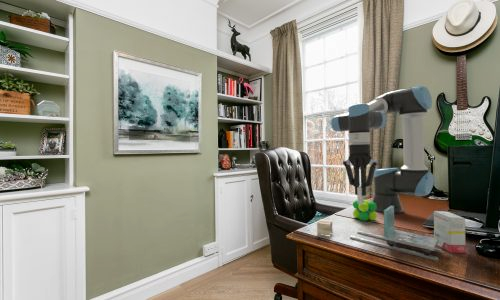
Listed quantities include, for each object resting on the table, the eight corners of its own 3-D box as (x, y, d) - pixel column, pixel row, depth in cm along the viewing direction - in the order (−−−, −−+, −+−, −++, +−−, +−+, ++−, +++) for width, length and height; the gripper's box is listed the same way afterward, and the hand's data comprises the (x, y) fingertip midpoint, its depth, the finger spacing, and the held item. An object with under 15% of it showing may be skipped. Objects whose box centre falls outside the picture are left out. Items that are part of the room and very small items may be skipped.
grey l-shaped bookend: (391, 237, 90) (391, 205, 90) (438, 247, 80) (438, 212, 80) (383, 245, 83) (383, 210, 83) (434, 258, 73) (433, 218, 73)
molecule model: (366, 215, 121) (351, 217, 119) (366, 198, 121) (351, 199, 119) (379, 221, 112) (362, 222, 111) (378, 202, 112) (362, 203, 111)
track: (358, 232, 98) (358, 230, 98) (441, 251, 79) (441, 249, 79) (349, 238, 92) (349, 236, 92) (437, 261, 73) (437, 258, 73)
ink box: (466, 253, 77) (466, 217, 77) (450, 253, 78) (449, 217, 78) (448, 243, 86) (447, 210, 86) (433, 242, 86) (433, 210, 86)
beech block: (320, 230, 101) (320, 219, 101) (332, 232, 98) (332, 220, 98) (317, 234, 96) (317, 222, 96) (329, 236, 94) (329, 224, 94)
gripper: (339, 144, 95) (340, 202, 95) (374, 143, 85) (375, 208, 86) (346, 144, 100) (348, 199, 101) (380, 143, 91) (381, 204, 91)
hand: (360, 203), depth 93 cm, fingers closed
